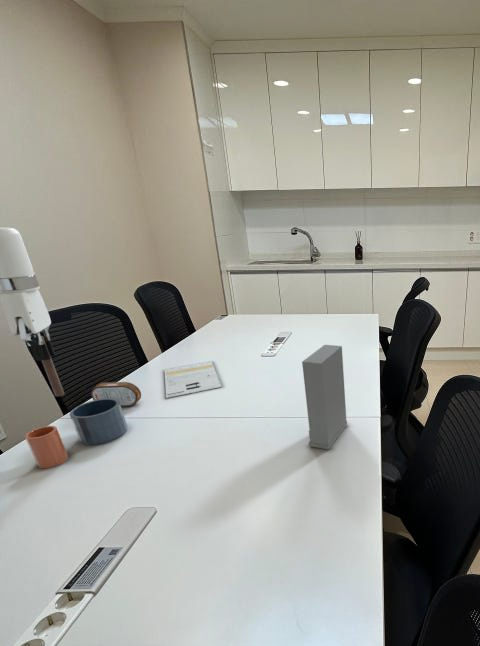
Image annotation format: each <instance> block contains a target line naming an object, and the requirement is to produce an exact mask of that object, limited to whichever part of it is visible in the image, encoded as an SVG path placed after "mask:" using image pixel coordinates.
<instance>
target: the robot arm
mask: <svg viewBox="0 0 480 646" xmlns="http://www.w3.org/2000/svg"><path fill="white" fill-rule="evenodd" d="M38 281H39V280H38V279H37V275H36V272H35V270H34V267H33V265H32V262H31V260H30V256H29V254H28V251H27V248H26V245H25V242H24V240H23V238H22V234H21V232H20V231H19V230H17V228H13V227H6V226H5V227H0V302H1V307H2V310H3V314H4V317H5V320H6V323H7V325H8V328H9V331H10V334H11V335H13V336H19V337H20V340H21V341H22V342H26V344H27V346H28V347H29V348H30V351H31V353H32V357H33V358H34V361H36V362H39V361H40V362H42V360H49V359H52V357H55V356H56V352H55V349H54V346H53V344H52V341H51V336H50V333H49V329H50V325H51V324H52V320H51V317H50V313H49V311H48V308H47V306H46V305H47V304H46V303H45V301H44V299H43V297H42V294H41V292H40V289H41V287H40V284H39V282H38ZM41 336H43V337H44V340H45V343H46V344H43V340H42V338H41ZM46 345H47V346H46ZM47 348H48V349H47ZM49 353H50V354H49ZM50 356H51V357H50Z"/></svg>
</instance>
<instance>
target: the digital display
mask: <svg viewBox="0 0 480 646" xmlns="http://www.w3.org/2000/svg"><path fill="white" fill-rule="evenodd" d="M164 383H165V385H164V386H165V398H166V399H169V398H175V397H179V396H183V395H188V394H193V393H198V392H205V391H209V390H214V389H218V388H222V385H221V382H220V380H219V377H218V374H217V372H216V369H215V367H214V364H213V361H207V362H202V363H197V364H191V365H185V366H178V367H173V368H167V369H164Z"/></svg>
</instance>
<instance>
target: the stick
mask: <svg viewBox="0 0 480 646" xmlns="http://www.w3.org/2000/svg"><path fill="white" fill-rule="evenodd" d="M41 338H42V340H43V344H46V343H45V340H44V337H43V336H41ZM46 346H47V345H46ZM47 349H48V348H47ZM49 354H50V353H49ZM50 357H51V359H49V360H41V363H42V365H43V368H44V371H45V373H46V375H47V378H48V381H49V383H50V386H51V389H52V392H53V394H54V396H55V397H62V396H64V395H65V391H64V387H63V386H62V383H61V381H60V378H59V374H58V372H57V369H56V367H55V364H54V362H53V361H54V360H52V359H53V358H52V356H50Z"/></svg>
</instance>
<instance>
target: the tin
mask: <svg viewBox="0 0 480 646" xmlns="http://www.w3.org/2000/svg"><path fill="white" fill-rule="evenodd" d="M90 395H91V398H92V401H94V400H98V399H106V398H112V399H117V400H118V401H119V402H120V405H121V408H122V407H132V406H135V405H136V404H137V403H138V402H139V401H140V400H141V399H142V392H141V390H140V388H139V387H138V386H137V385H136V384H134V383H132V382H129V381H118V382H117V381H114V382H113V381H112V382H100V383H98V384H96V385H95V386H94V387H93V389H91V392H90Z"/></svg>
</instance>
